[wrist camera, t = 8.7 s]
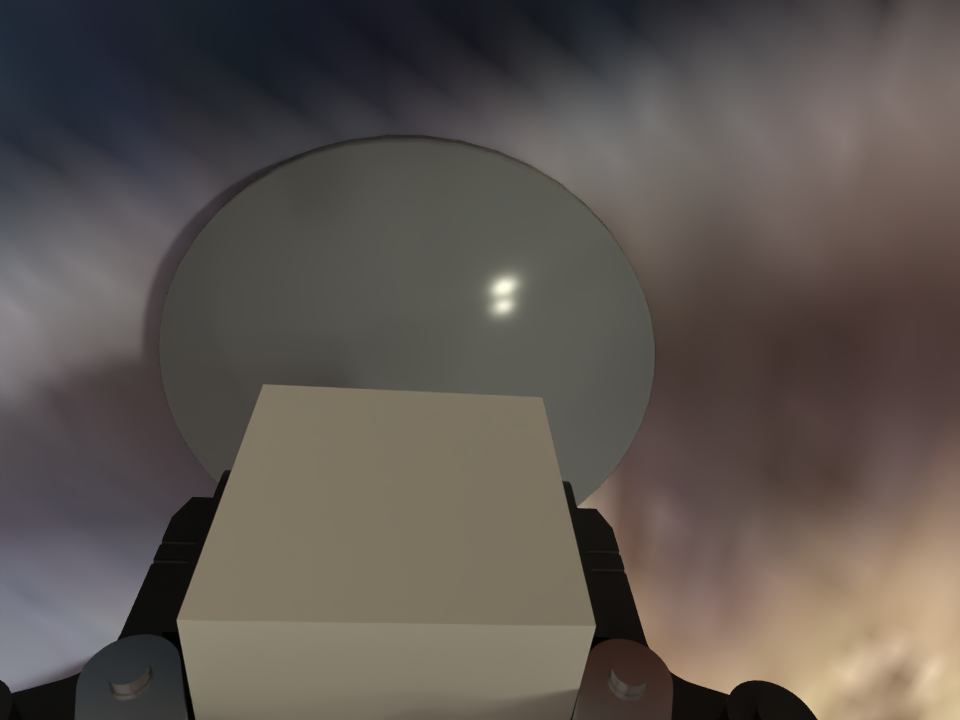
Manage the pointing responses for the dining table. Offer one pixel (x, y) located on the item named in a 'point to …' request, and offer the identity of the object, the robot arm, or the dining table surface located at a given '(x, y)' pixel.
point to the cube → (389, 564)
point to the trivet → (410, 297)
